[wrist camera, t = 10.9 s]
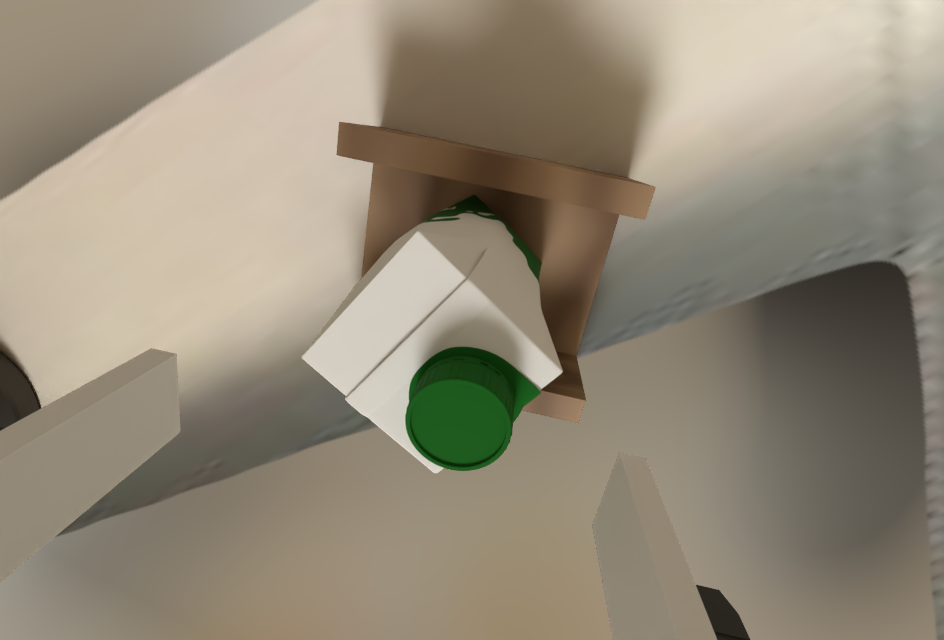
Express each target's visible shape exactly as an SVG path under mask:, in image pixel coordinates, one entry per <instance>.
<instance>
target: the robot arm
mask: <svg viewBox="0 0 944 640" xmlns="http://www.w3.org/2000/svg"><path fill="white" fill-rule="evenodd" d="M178 433H180V414H179V394H178V374H177V354H174V353H170V352H165V351H161V350H156V349H152V348H151V349H149V350H148V351H146V352H144V353H142V354H140V355H138V356H137V357H135V358H133V359H131V360H129V361H127V362H126V363H124V364H122V365H120V366H118V367H116V368H115V369H113V370H111V371H109V372H107V373H105V374H104V375H102V376H100V377H98V378H96V379H94V380H93V381H91V382H89V383H87V384H85V385H83V386H82V387H80V388H78V389H76V390H74V391H72V392H71V393H69V394H67V395H65V396H63V397H61V398H60V399H58V400H56V401H54V402H52V403H50V404H49V405H47V406H45V407H43V408H41V409H39V406H38V402H37V400H36V397H35V395H34V393H33V391H32V389H31V387H30V385H29V384H28V382H27V381H26V379H25V378H24V376H23V375H22V374H21V372H20V371H19V370H18V369H17V367H16V366H15V365H14V364H13V363H12V362H11V361H10V360H9V359H8V358H7V357H6V356H5V355H3V354H2V353H1V352H0V582H1V581H2V580H4V579H5V578H6V577H7V576H8V575H9V574H11V573H12V572H13V571H14V570H16V569H17V568H18V567H19V566H20V565H22V564H23V563H24V562H25V561H26V560H28V559H29V558H30V557H31V556H32V555H33V554H35V553H36V552H37V551H38V550H40V549H41V548H42V547H43V546H44V545H45V544H47V543H48V542H49V541H50V540H52V539H53V538H54V537H55V536H56V535H58V534H59V533H60V532H61V531H62V530H64V529H65V528H66V527H67V526H68V525H70V524H71V523H72V522H73V521H74V520H75V519H77V518H78V517H79V516H80V515H81V514H83V513H84V512H85V511H86V510H87V509H89V508H90V507H91V506H92V505H93V504H95V503H96V502H97V501H98V500H99V499H101V498H102V497H103V496H104V495H105V494H107V493H108V492H109V491H110V490H111V489H113V488H114V487H115V486H116V485H117V484H119V483H120V482H121V481H122V480H123V479H125V478H126V477H127V476H128V475H129V474H131V473H132V472H133V471H134V470H135V469H137V468H138V467H139V466H140V465H141V464H143V463H144V462H145V461H146V460H147V459H149V458H150V457H151V456H152V455H153V454H155V453H156V452H157V451H158V450H159V449H161V448H162V447H163V446H164V445H165V444H166V443H168V442H169V441H170V440H171V439H172V438H174V437H175V436H176V435H177V434H178ZM592 528H593V533H594V539H595V544H596V549H597V555H598V560H599V566H600V571H601V577H602V583H603V588H604V594H605V599H606V605H607V610H608V616H609V621H610V626H611V632H612V637H613V640H750V638H749V636H748V634H747V632H746V629H745V627H744V625H743V623H742V621H741V619H740V617H739V615H738V613H737V612H736V611H735V609H734V608H733V607H732V606H731V604H730V603H729V602H728V601H727V599H726V598H725V597H724V596H723V594H722V593H721V592H720V591H719V590H716V589H712V588H708V587H703V586H699V585H695V582H694V580H693V577H692V574H691V572H690V569H689V567H688V564H687V562H686V559H685V556H684V554H683V551H682V549H681V546H680V544H679V541H678V539H677V536H676V534H675V531H674V529H673V526H672V524H671V521H670V519H669V516H668V514H667V511H666V508H665V506H664V503H663V501H662V498H661V496H660V493H659V490H658V488H657V486H656V483H655V480H654V478H653V475H652V473H651V470H650V468H649V465H648V463H647V460H646V458H642V457H638V456H633V455H629V454H624V453H619V454H618V457H617V460H616V462H615V465H614V468H613V471H612V473H611V476H610V479H609V481H608V484H607V487H606V489H605V492H604V495H603V497H602V500H601V503H600V505H599V508H598V511H597V513H596V516H595V519H594V521H593V524H592Z"/></svg>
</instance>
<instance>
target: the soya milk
mask: <svg viewBox="0 0 944 640" xmlns="http://www.w3.org/2000/svg"><path fill="white" fill-rule="evenodd" d="M541 265H542V262H541V261H540V260H539V259H538V258H537V256H536V255H535V254H534V253H533V252H532V250H531V249H530V248H529V247H528V246H527V245H526V244H525V243H524V242H523V241H522V240H521V238H520V237H519V236H518V235H517V234H516V233H515V232H514V231H513V230H512V229H511V228H510V227H509V226H508V225H507V224H506V223H505V222H504V221H503V220H502V219H501V218H500V217H499V216H498V215H497V214H496V213H495V212H494V211H492V210H491V209H490V208H489V207H488V206H487V205H485V204H484V203H483V202H482V201H481V200H480V199H479V198H478V197H477V196H476V195H472V196H470V197H468V198H466V199H464V200H462V201H460V202H458V203H456V204H454V205H451V206H449V207H447V208H445V209H443V210H441V211H439V212H437V213H435V214H433V215H432V216H430V217H429V218H427V219H426V220H425V221H423V222H422V223H420V224H419V225H417V226H416V227H414V228H413V229H412V230H410V231H409V232H407V233H406V234H404V235H403V236H402V237H400V238H399V239H398V240H396V241H395V242H394V243H393V244H392V245H391V246H390V247H389V248H388V249H387V250H386V251H385V252H384V253H383V254H382V256H381V257H380V258H379V259H378V260H377V261H376V263H375V264H374V265H373V266H372V267H371V268H370V270H369V271H368V272H367V273H366V274H365V275H364V276H363V277H362V278H361V280H360V281H359V282H358V283H357V284H356V285H355V287H354V288H353V289H352V291H351V292H350V293H349V295H348V296H347V297H346V299H345V300H344V301H343V303H342V304H341V305H340V307H339V308H338V309H337V311H336V312H335V313H334V315H333V316H332V317H331V319H330V320H329V321H328V323H327V324H326V325H325V327H324V328H323V329H322V331H321V332H320V333H319V335H318V336H317V337H316V338H315V340H314V341H313V342H312V344H311V345H310V346H309V348H308V349H307V350H306V352H305V353H304V354H303V355H302V359H304V360H305V361H306V362H307V363H308V364H309V365H310V366H312V367H313V368H314V369H315V370H316V371H317V372H319V373H320V374H321V375H322V376H323V377H324V378H326V379H327V380H328V381H329V382H330V383H331V384H333V385H334V386H335V387H336V388H337V389H338V390H340V391H341V392H342V393H343V394H344V395H345V396H347V397H346V398H345V400H346V401H347V402H348V403H349V404H350V405H351V406H353V407H354V408H355V409H356V410H357V411H359V412H360V413H361V414H362V415H364V416H366V417H368V418H369V419H370V420H371V421H373V422H374V423H375V424H376V425H377V426H378V427H380V428H381V429H382V430H383V431H384V432H386V433H387V434H388V435H389V436H390V437H392V438H393V439H394V440H395V441H396V442H398V443H399V444H400V445H401V446H402V447H403V448H405V449H406V450H407V451H408V452H409V453H411V454H412V455H413V456H414V457H416V458H417V459H418V460H419V461H420V462H422V463H423V464H424V465H425V466H426V467H427V468H429V469H430V470H432V472H434V473H438V472H440V471H441V470H442V469H443V468H447V469H451V470H457V471H469V470H475V469H479V468H482V467H485V466H487V465H489V464H491V463H492V462H494V461H495V460H497V459H498V458H499V457H500V456H501V455H502V454H503V452H504V451H505V450H506V448H507V446H508V444H509V442H510V438H511V436H512V427H513V422H514V421H515V420H516V418H517V417H518V415H519V414H520V412H521V410H522V409H523V407H524V406H525V405H527V404H528V403H529V402H531V401H532V400H533V399H535V398H536V397H537V396H538V395H540V394H541V392H540V390H541V389H542V388H543V387H545V386H546V385H547V384H549V383H550V382H551V381H553V380H554V379H555V378H556V377H558V376H559V375H560V374H561V373H562V372H563V370H562V367H561V364H560V361H559V359H558V356H557V353H556V350H555V347H554V345H553V342H552V339H551V336H550V333H549V331H548V328H547V325H546V322H545V319H544V316H543V313H542V310H541V302H540V287H539V276H540V270H541Z"/></svg>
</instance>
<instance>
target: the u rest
mask: <svg viewBox="0 0 944 640" xmlns="http://www.w3.org/2000/svg"><path fill="white" fill-rule="evenodd" d="M337 155H338V156H343V157H348V158H352V159H357V160H362V161H367V162H372V163H374V164H373V173H372V183H371V192H370V202H369V211H368V221H367V230H366V240H365V249H364V259H363V268H362V277H363V276H364V275H365V274H366V273H367V272H368V271H369V270H370V268H371V267H372V266H373V265H374V264H375V263H376V261H377V260H378V259H379V258H380V257H381V256H382V254H383V253H384V252H385V251H386V250H387V249H388V248H389V247H390V246H391V245H392V244H393V243H394V242H395V241H396V240H398V239H399V238H400V237H402V236H403V235H404V234H406V233H407V232H409V231H410V230H412V229H413V228H414V227H416V226H417V225H419V224H420V223H422V222H423V221H425V220H426V219H427V218H429V217H430V216H432V215H433V214H435V213H437V212H439V211H441V210H443V209H445V208H447V207H449V206H451V205H454V204H456V203H458V202H460V201H462V200H464V199H466V198H468V197H470V196H472V195H476V196H477V197H478V198H479V199H480V200H481V201H482V202H483V203H484V204H485V205H487V206H488V207H489V208H490V209H491V210H492V211H494V212H495V213H496V214H497V215H498V216H499V217H500V218H501V219H502V220H503V221H504V222H505V223H506V224H507V225H508V226H509V227H510V228H511V229H512V230H513V231H514V232H515V233H516V234H517V235H518V236H519V237H520V238H521V240H522V241H523V242H524V243H525V244H526V245H527V246H528V247H529V248H530V249H531V250H532V252H533V253H534V254H535V255H536V256H537V258H538V259H539V260H540V261H541V262H542V265H541V270H540V276H539V287H540V302H541V310H542V313H543V316H544V319H545V322H546V325H547V328H548V331H549V333H550V336H551V339H552V342H553V345H554V347H555V350H556V353H557V356H558V359H559V361H560V364H561V367H562V370H563V372H562V373H561V374H560V375H559V376H558V377H556V378H555V379H554V380H553V381H551V382H550V383H549V384H547V385H546V386H545V387H543V388H542V389H541V390H540V392H541V394H540V395H538V396H537V397H536V398H535V399H533V400H532V401H531V402H529V403H528V404H527V405H525V406H524V407H523V409H522V411H527V412H531V413H536V414H540V415H544V416H549V417H553V418H557V419H562V420H566V421H570V422H575V423H579V421H580V418H581V414H582V411H583V408H584V405H585V402H586V399H585V394H584V389H583V385H582V380H581V375H580V371H579V366H578V361H577V357H576V355H577V352H578V349H579V345H580V342H581V339H582V335H583V332H584V329H585V326H586V322H587V319H588V316H589V312H590V309H591V306H592V303H593V299H594V296H595V293H596V289H597V286H598V283H599V280H600V276H601V273H602V270H603V266H604V263H605V260H606V257H607V253H608V250H609V247H610V243H611V240H612V237H613V234H614V230H615V227H616V224H617V220H618V217H619V214H620V215H625V216H630V217H634V218H639V219H644V220H645V218H646V215H647V212H648V209H649V206H650V203H651V200H652V197H653V194H654V191H655V188H656V187H654V186H651V185H648V184H645V183H642V182H639V181H636V180H633V179H630V178H626V177H621V176H616V175H611V174H606V173H601V172H597V171H592V170H587V169H582V168H577V167H572V166H567V165H563V164H558V163H553V162H548V161H543V160H538V159H533V158H529V157H524V156H519V155H514V154H509V153H504V152H499V151H495V150H490V149H485V148H480V147H475V146H470V145H465V144H461V143H456V142H451V141H446V140H441V139H436V138H431V137H427V136H422V135H417V134H412V133H407V132H402V131H397V130H392V129H388V128H383V127H376V126H368V125H360V124H352V123H343V122H339V132H338V145H337Z"/></svg>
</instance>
